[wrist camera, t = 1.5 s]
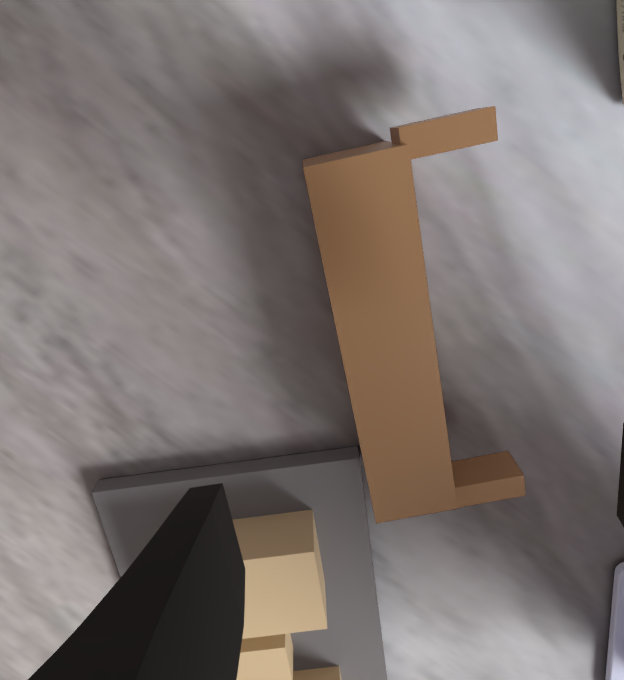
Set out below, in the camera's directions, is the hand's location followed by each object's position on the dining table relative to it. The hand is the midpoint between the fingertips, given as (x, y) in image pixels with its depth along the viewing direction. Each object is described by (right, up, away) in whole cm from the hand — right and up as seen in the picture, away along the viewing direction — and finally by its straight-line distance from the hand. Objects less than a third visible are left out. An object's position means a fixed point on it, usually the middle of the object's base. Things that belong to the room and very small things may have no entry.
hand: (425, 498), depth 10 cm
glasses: (+1, +4, +9) cm, 10 cm away
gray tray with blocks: (-4, -9, +14) cm, 17 cm away
